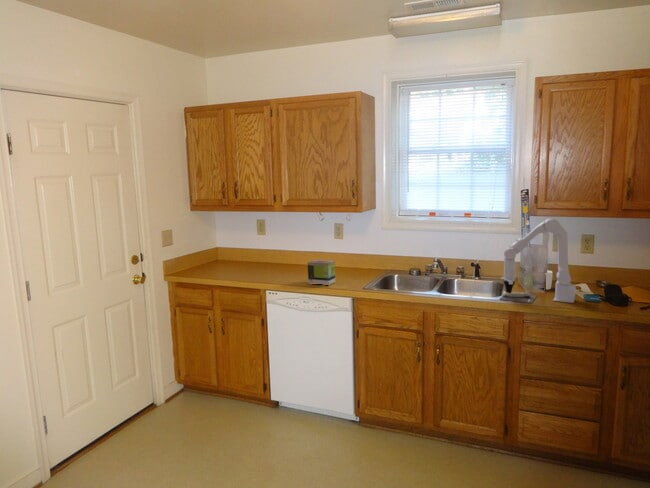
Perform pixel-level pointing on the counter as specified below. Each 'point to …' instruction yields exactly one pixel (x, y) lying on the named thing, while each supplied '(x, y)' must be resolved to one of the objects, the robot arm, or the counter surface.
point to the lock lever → (516, 294)
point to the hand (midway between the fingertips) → (508, 294)
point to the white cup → (548, 279)
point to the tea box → (321, 271)
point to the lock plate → (519, 299)
